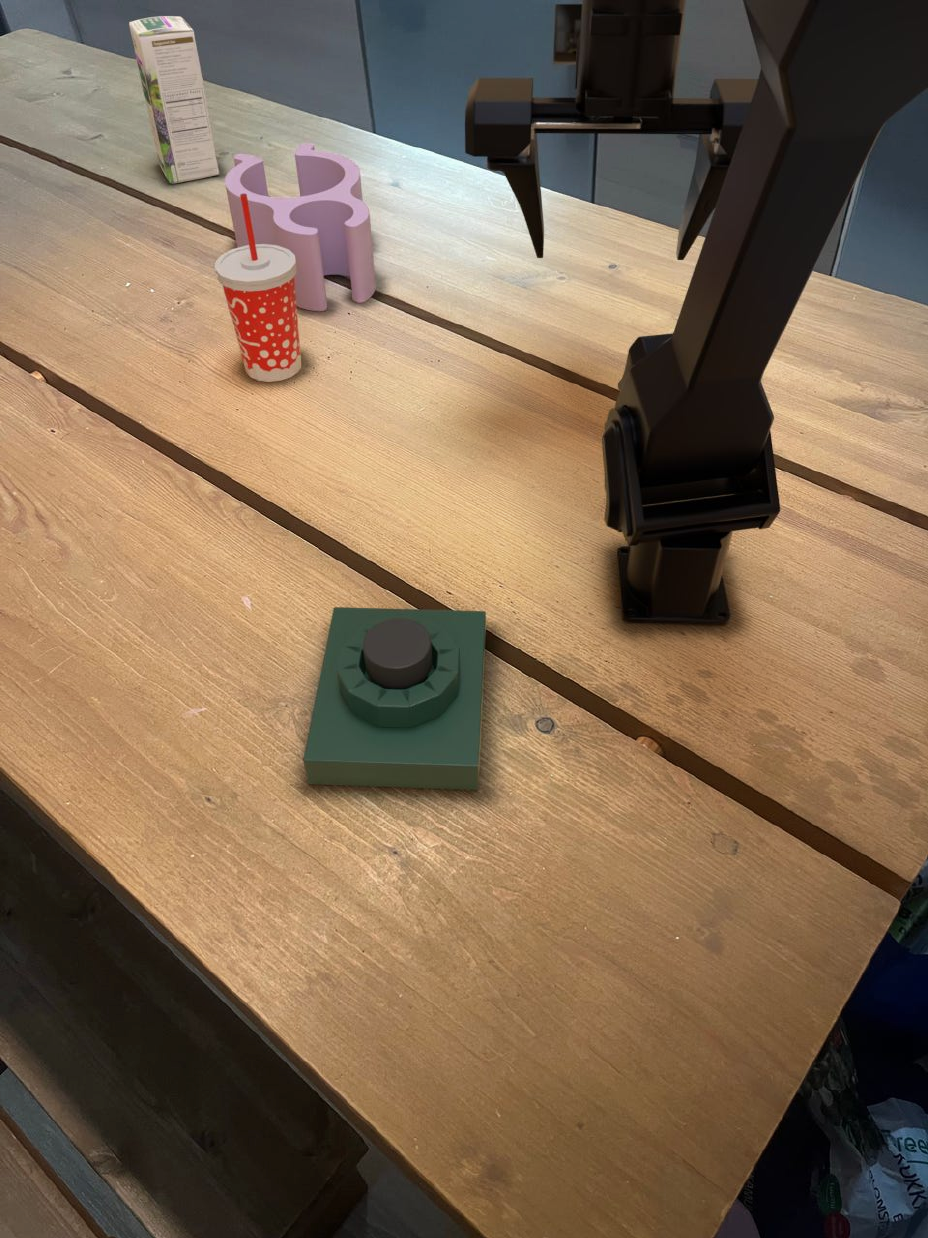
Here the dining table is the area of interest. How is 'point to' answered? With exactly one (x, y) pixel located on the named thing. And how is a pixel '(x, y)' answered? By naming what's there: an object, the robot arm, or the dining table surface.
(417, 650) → the push button
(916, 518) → the dining table surface
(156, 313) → the dining table surface
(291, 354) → the beverage cup
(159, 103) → the syrup box
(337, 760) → the green button box
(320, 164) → the clip
